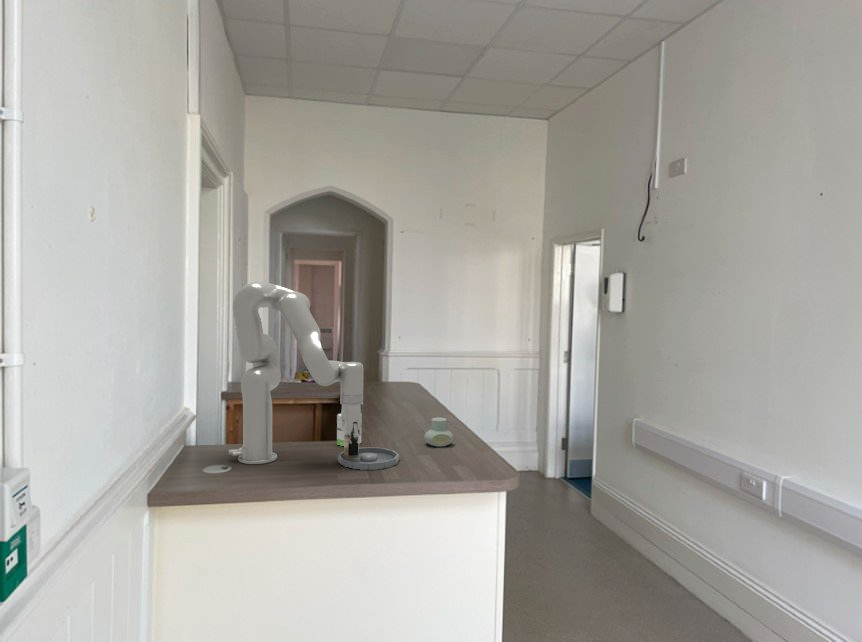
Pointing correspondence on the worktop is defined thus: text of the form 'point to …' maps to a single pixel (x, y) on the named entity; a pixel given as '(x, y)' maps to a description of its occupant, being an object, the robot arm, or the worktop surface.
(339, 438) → the ink box
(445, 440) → the air freshener
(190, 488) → the worktop surface
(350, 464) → the ring tray
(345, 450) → the beige cylinder
